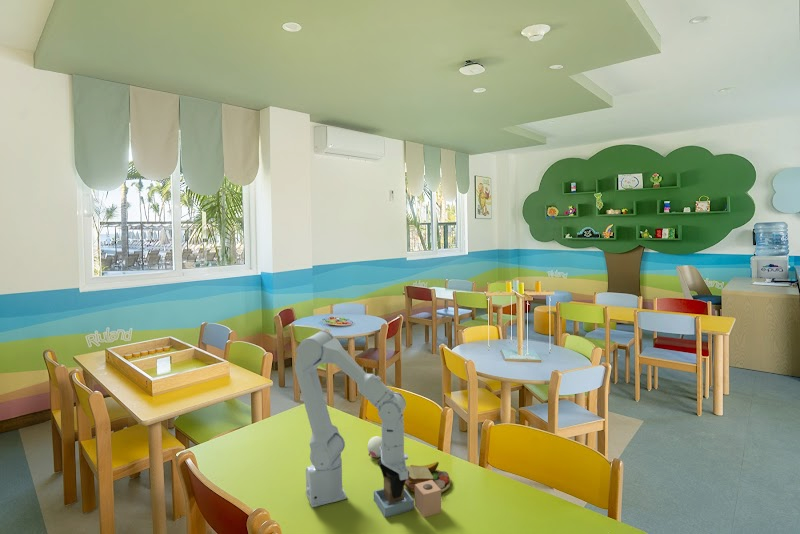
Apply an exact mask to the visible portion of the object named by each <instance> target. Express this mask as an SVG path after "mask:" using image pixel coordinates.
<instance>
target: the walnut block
mask: <svg viewBox="0 0 800 534" xmlns="http://www.w3.org/2000/svg"><path fill="white" fill-rule="evenodd" d="M383 488H384V496H385V498H386V499H387V501H388V502H389V503H390V504H391V503H395V502H398V501H402V500H404V488H405V485H404V486H403V490H402V494H401V497H398V498H395V499H394V498H393V496H392V492H391V485H390V481H389V479H388V476H386V477H384V478H383Z"/></svg>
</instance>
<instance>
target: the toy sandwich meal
mask: <svg viewBox="0 0 800 534" xmlns="http://www.w3.org/2000/svg"><path fill="white" fill-rule="evenodd" d="M439 464H440V463H439V461H435V462H433V463H429V464H426V465H414V464H410V465H406V469H407V470H408V471H409V476H408V479H406V481H405V483H404V487H406V489H407V490H409V491H411V492H414V493H415V484H418V483H421V482H425V481H429V480H433V481H434V483H435V484H436V485H437V486H438V487H439V488H440V489H441V494H443V493H444V492H446V491H447V490H448V489H449V487H451V485H452V484H451V482H452V480H451V477H450V476H449V475H450V474H449V473H448V472H447V471H445V470H439V469H438V466H439Z"/></svg>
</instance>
